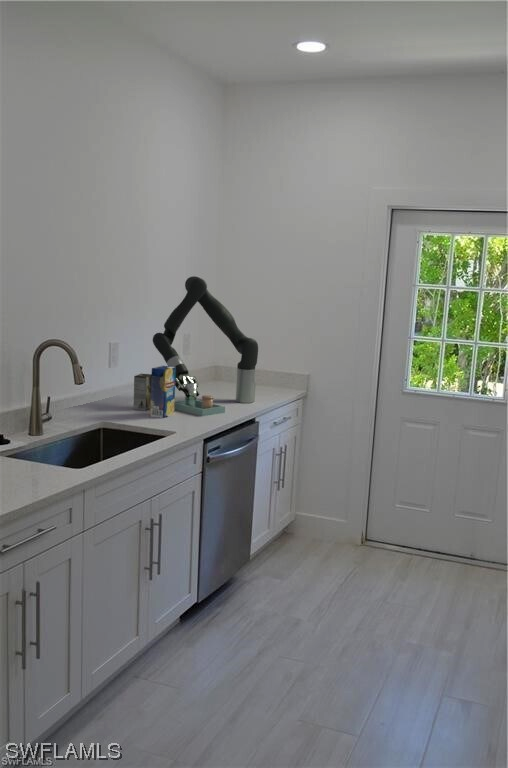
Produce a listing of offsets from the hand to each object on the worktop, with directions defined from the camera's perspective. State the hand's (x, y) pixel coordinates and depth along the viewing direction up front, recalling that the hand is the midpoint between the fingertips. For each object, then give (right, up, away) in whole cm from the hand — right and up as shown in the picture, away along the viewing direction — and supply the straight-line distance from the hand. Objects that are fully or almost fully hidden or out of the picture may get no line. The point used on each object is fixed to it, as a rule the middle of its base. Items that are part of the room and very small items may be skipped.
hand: (193, 396), depth 354 cm
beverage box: (-13, -9, -12) cm, 20 cm away
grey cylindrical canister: (-2, -5, +2) cm, 6 cm away
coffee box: (-24, -6, +1) cm, 25 cm away
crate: (+2, -8, -1) cm, 8 cm away
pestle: (+7, -8, -5) cm, 11 cm away
